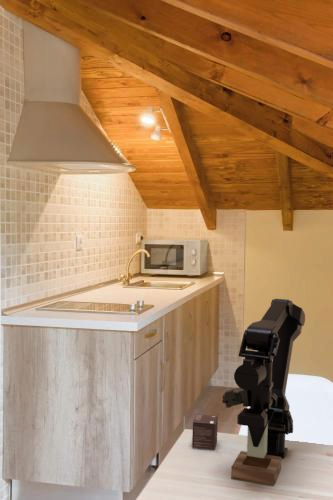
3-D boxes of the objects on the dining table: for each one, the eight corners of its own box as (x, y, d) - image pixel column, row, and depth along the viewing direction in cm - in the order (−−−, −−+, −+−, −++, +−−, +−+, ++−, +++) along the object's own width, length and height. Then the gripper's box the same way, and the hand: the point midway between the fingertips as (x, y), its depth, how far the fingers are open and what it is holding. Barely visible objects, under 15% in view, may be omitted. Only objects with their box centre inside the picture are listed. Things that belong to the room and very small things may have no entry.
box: (195, 440, 169) (196, 413, 169) (217, 442, 168) (218, 415, 168) (191, 448, 164) (192, 421, 163) (214, 450, 162) (215, 423, 162)
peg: (250, 449, 151) (251, 417, 150) (266, 452, 150) (267, 419, 149) (246, 455, 147) (247, 422, 147) (263, 458, 146) (264, 424, 145)
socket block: (240, 462, 155) (241, 450, 155) (280, 469, 152) (281, 457, 151) (231, 478, 146) (231, 466, 145) (273, 486, 142) (274, 473, 142)
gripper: (235, 366, 158) (233, 426, 160) (216, 385, 141) (214, 452, 142) (279, 370, 155) (277, 432, 156) (265, 391, 137) (262, 460, 138)
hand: (257, 443), depth 148 cm, fingers closed on peg, 4 cm apart
